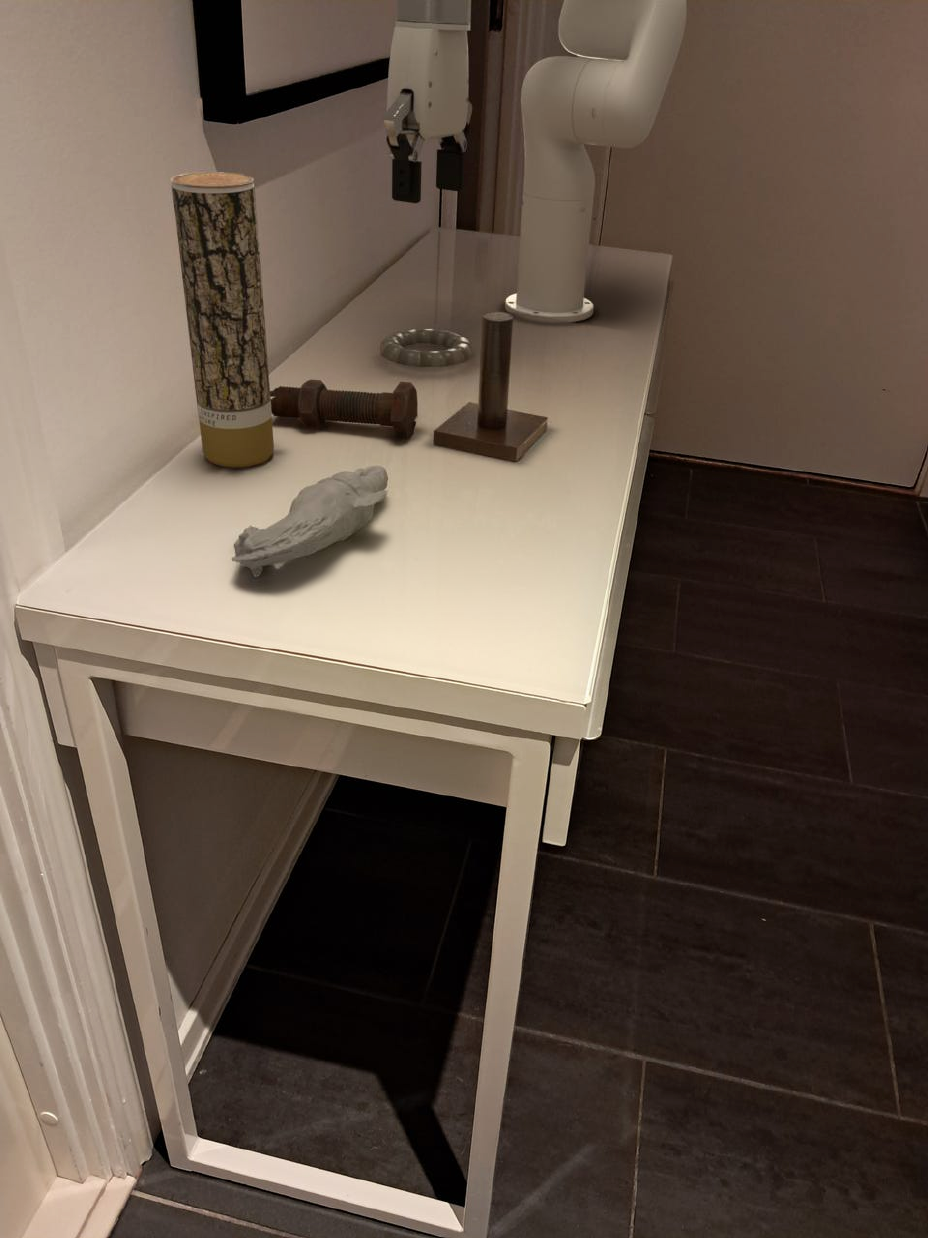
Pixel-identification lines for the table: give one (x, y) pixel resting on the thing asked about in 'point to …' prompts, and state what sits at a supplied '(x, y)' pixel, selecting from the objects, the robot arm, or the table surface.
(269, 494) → the table surface
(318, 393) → the bolt
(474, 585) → the table surface
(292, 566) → the table surface
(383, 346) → the bracelet
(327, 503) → the grey figurine
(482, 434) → the post
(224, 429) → the paper tube
